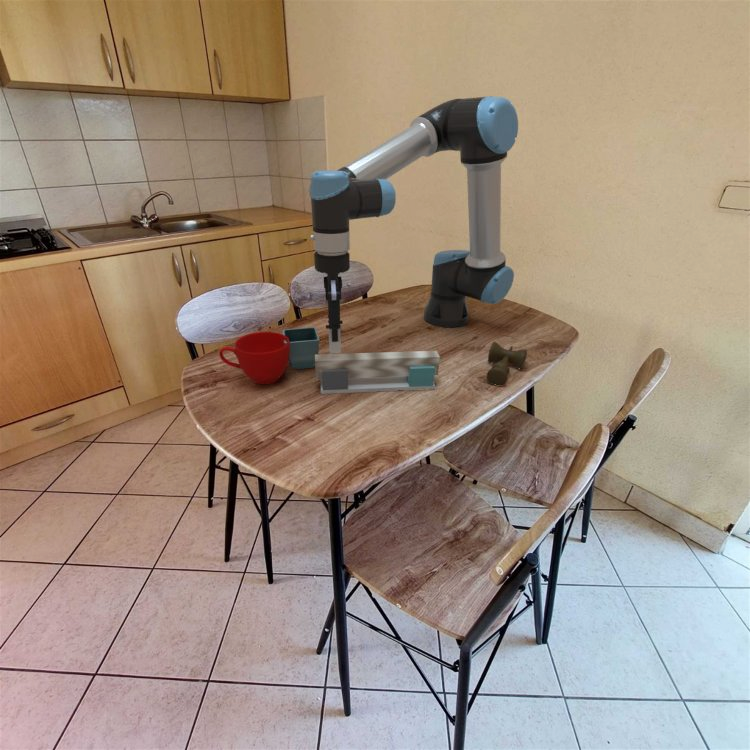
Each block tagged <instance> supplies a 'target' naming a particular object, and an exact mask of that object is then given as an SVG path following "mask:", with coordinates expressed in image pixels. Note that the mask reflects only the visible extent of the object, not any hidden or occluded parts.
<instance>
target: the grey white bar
mask: <svg viewBox="0 0 750 750" xmlns="http://www.w3.org/2000/svg"><path fill="white" fill-rule="evenodd" d="M440 359H441V357H440V355H439V352H438V351H437V350H420V351H419V350H418V351H417V350H416V351H389V352H388V351H387V352H385V351H383V352H359V353H357V352H356V353H327V354H325V353H321V354H319V353H318V354H317V355H315V365H314V367H315V380H317V381H318V380H320V381H321V379H322V370H332V369H348V378H374V377H400V376H409V371H410V367H420V366H434V367H435V374H434V376H438V375H439V367H440Z"/></svg>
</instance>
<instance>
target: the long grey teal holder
mask: <svg viewBox="0 0 750 750" xmlns="http://www.w3.org/2000/svg"><path fill="white" fill-rule="evenodd" d="M434 374H435V367H434V366H420V367H410V371H409V376H400V377H374V378H348V369H332V370H322V379H321V380H320V395H328V394H329V395H331V394H349V393H350V394H352V393H353V394H355V393H377V391H382V392H399V391H398V390H406V391H418V390H417V389H431V390H436V384H435V375H434Z"/></svg>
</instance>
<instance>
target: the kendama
mask: <svg viewBox="0 0 750 750" xmlns="http://www.w3.org/2000/svg"><path fill="white" fill-rule="evenodd" d="M527 353H528V349H519V350H513V346H512V345H511V346H510V347H509V349H506V348H504V347H502V346H501V345H500V344H499V343H497V342H496V341H493V342H492V344H491V346H490V349H489V352H488V357H487V363H489V364H492V363H491V362H493V363H494V364H492V366H491V368H490V369H489V370H488V371H487V373H486V379H487V382H488V383H489V382H490V383H489V384H491V383H493V384H496V385H503V386H504V385H506V384H507V381H508V377H509V374H510V367H509V365H508V363H510V364H511V365H513V366H514V367H516V368H517V369H518V368H520V369H519V370H523V368H524V366H525V364H526V360H527V359H526V358H527V357H528V355H527ZM496 385H495V386H496Z"/></svg>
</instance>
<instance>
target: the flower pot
mask: <svg viewBox="0 0 750 750" xmlns="http://www.w3.org/2000/svg"><path fill="white" fill-rule="evenodd" d="M282 334H283V335H285V336H286V337H287V338H288V339H289V343H290V354H289V361H288V363H289V364H290V366H291V367H292V368H293V370H301V369H312V368H314V367H315V355H317V354H319V351H320V337H319V335H318V331H317V328H316V327H315V326H314V327H313V326H311V327H299V328H286V329H282ZM284 343H285V346H286V345H287V342H286V341H285V340H284Z"/></svg>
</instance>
